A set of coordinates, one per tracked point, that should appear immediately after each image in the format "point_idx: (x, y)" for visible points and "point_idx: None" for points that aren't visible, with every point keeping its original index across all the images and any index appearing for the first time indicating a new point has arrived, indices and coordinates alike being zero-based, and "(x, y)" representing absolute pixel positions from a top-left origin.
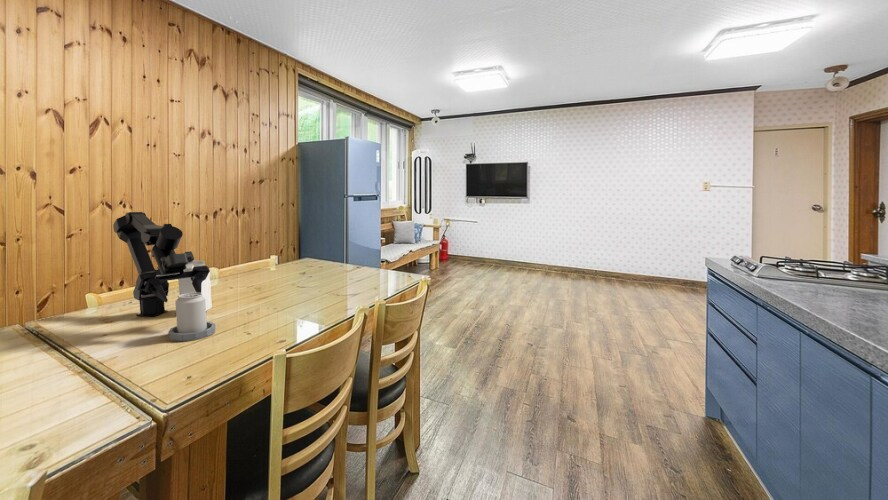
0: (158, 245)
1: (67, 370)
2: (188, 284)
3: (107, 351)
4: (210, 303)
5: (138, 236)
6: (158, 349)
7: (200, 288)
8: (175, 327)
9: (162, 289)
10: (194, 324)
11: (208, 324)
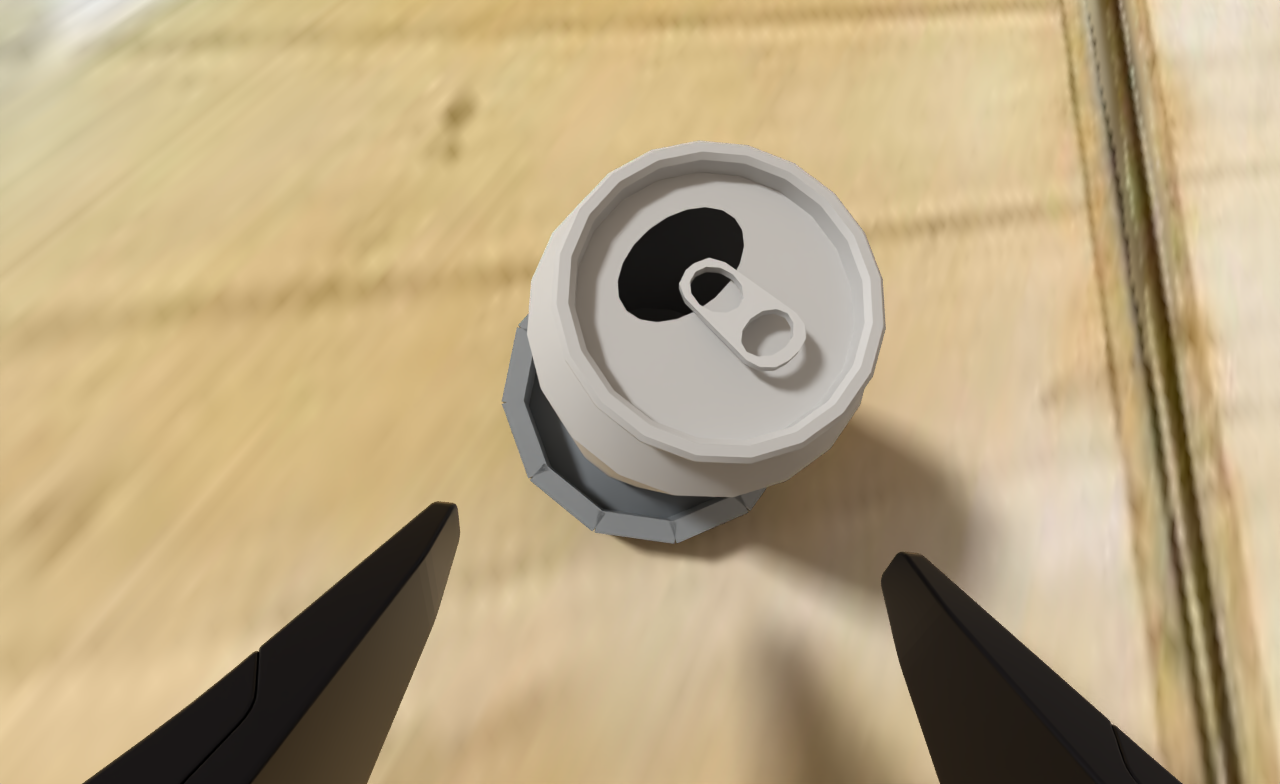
0: None
1: (1224, 408)
2: None
3: (1061, 527)
4: None
5: None
6: None
7: (361, 577)
8: (724, 500)
9: (1085, 753)
10: (694, 289)
11: (526, 404)
